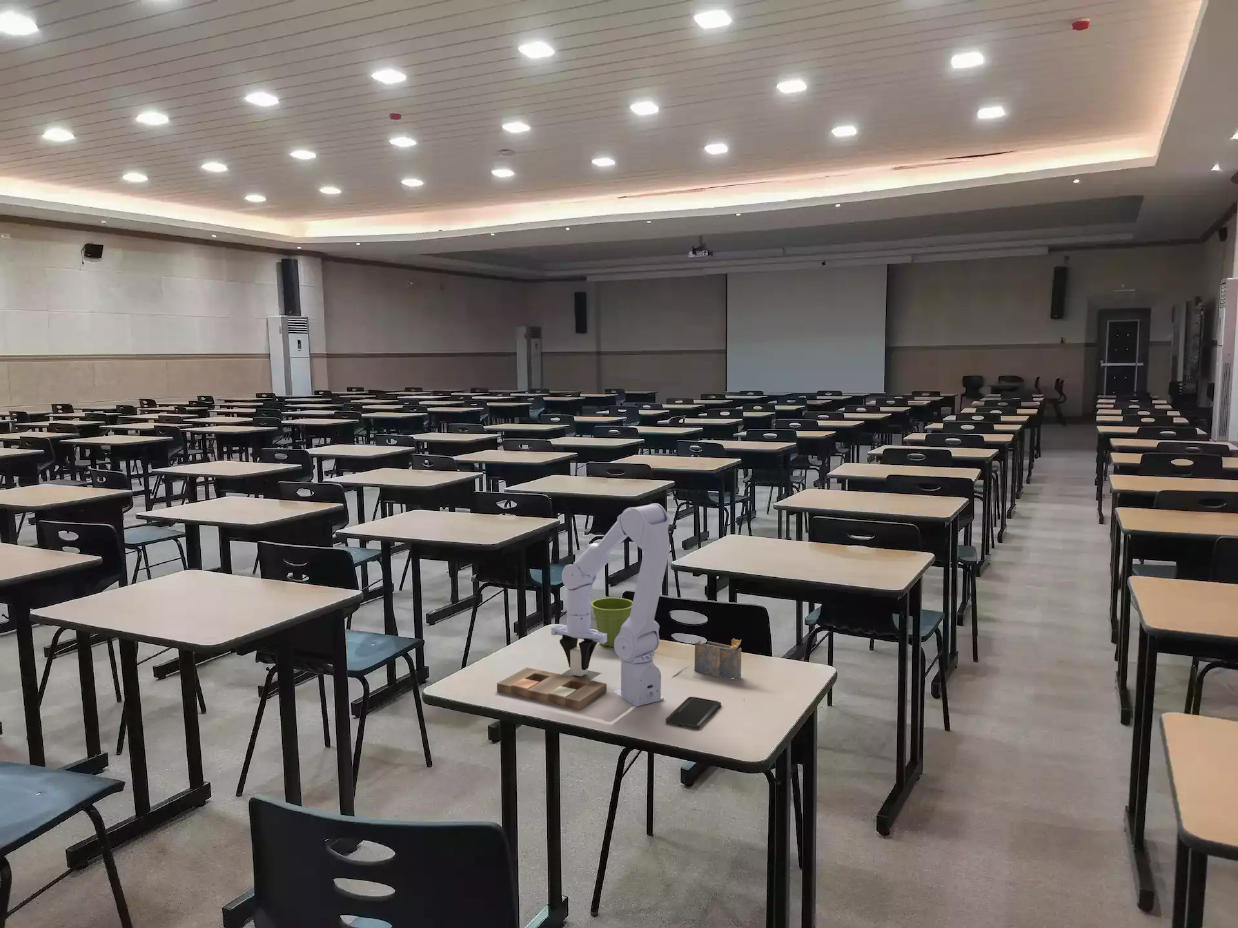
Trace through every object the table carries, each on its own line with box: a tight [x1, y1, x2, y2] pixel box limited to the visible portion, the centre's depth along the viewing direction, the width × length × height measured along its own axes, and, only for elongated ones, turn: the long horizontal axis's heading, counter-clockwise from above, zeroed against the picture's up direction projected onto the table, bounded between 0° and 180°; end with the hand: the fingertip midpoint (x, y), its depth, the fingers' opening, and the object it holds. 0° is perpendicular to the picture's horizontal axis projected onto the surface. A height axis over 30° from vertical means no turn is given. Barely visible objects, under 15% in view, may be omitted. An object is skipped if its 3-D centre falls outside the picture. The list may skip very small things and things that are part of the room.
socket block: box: [496, 667, 607, 711], centre depth 192 cm, size 22×12×3 cm, turn 62°
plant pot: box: [591, 597, 633, 648], centre depth 228 cm, size 12×12×11 cm
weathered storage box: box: [694, 637, 742, 680], centre depth 206 cm, size 11×3×10 cm, turn 57°
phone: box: [665, 696, 722, 731], centre depth 182 cm, size 8×1×15 cm
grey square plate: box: [561, 669, 602, 681], centre depth 203 cm, size 8×8×1 cm
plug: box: [569, 646, 588, 676], centre depth 203 cm, size 3×3×6 cm
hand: (578, 667), depth 203 cm, fingers closed on plug, 3 cm apart
